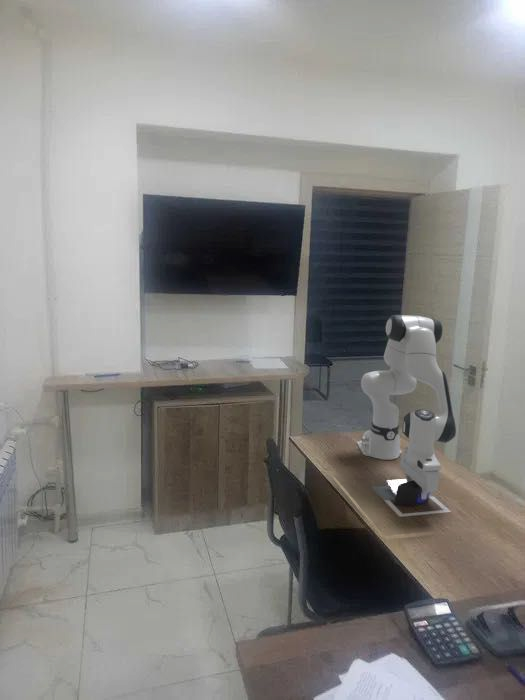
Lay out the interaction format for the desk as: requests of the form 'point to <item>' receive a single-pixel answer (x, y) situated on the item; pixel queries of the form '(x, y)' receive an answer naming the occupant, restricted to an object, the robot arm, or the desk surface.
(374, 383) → the robot arm
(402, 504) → the leaning round-cornered charcoal block
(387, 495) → the mounting board
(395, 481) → the light grey rectangular plate
